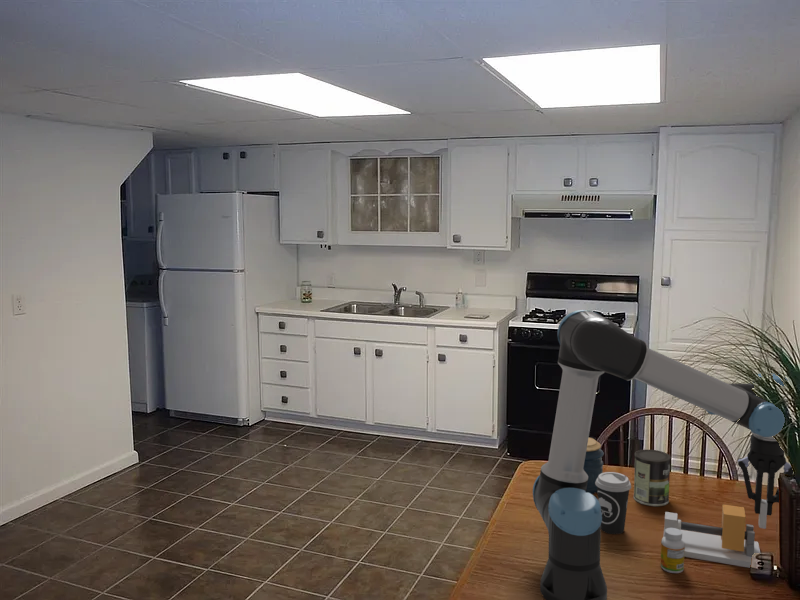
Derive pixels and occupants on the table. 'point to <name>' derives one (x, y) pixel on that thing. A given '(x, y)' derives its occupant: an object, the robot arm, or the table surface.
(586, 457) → the canister
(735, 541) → the orange rectangular block
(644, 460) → the coffee can
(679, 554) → the supplement bottle
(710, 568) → the table surface
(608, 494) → the coffee cup
